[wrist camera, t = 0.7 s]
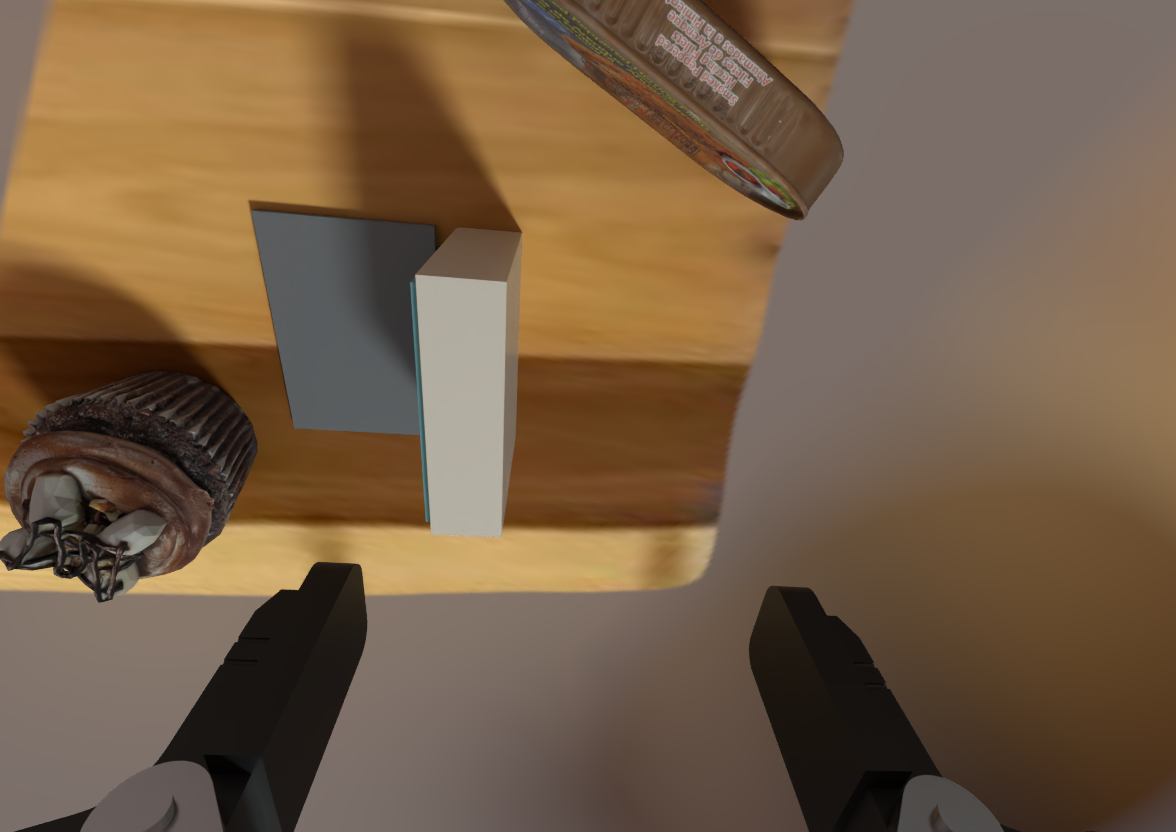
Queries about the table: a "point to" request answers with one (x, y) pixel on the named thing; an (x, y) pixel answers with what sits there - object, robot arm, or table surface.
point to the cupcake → (126, 480)
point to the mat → (345, 317)
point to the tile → (468, 377)
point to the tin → (699, 92)
